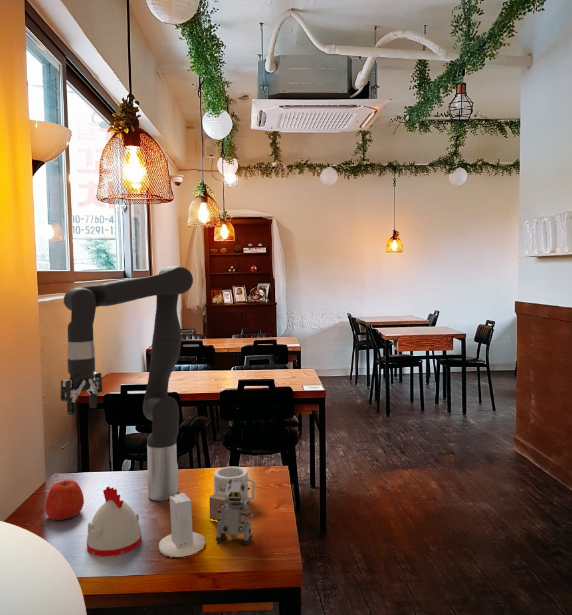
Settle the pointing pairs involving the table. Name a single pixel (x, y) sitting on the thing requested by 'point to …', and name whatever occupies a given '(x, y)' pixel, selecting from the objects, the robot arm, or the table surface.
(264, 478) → the table surface
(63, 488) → the apple
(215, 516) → the walnut block
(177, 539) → the skincare box
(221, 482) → the mug
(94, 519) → the kitchen timer
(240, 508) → the figurine
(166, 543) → the white glossy disc
